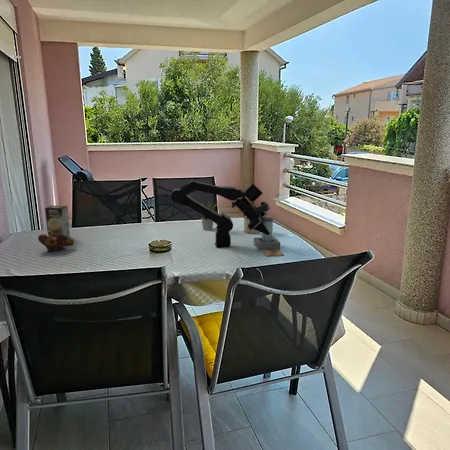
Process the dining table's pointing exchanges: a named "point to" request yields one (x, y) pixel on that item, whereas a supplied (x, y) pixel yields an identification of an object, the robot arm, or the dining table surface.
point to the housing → (266, 244)
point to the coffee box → (57, 220)
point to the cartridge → (269, 225)
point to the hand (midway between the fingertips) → (270, 233)
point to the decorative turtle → (55, 241)
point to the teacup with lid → (246, 229)
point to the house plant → (207, 220)
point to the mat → (272, 252)
